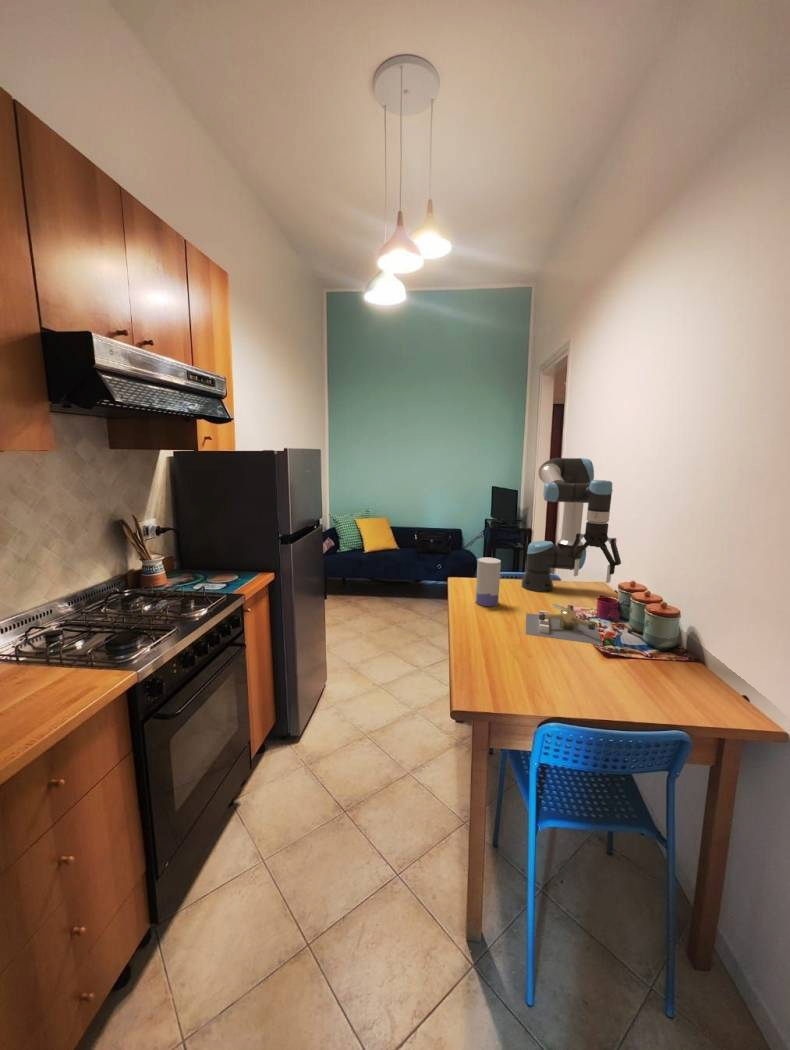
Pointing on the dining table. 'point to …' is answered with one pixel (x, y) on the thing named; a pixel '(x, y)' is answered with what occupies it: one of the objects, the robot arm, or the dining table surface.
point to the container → (488, 581)
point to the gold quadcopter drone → (567, 618)
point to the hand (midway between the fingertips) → (591, 578)
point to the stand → (560, 630)
